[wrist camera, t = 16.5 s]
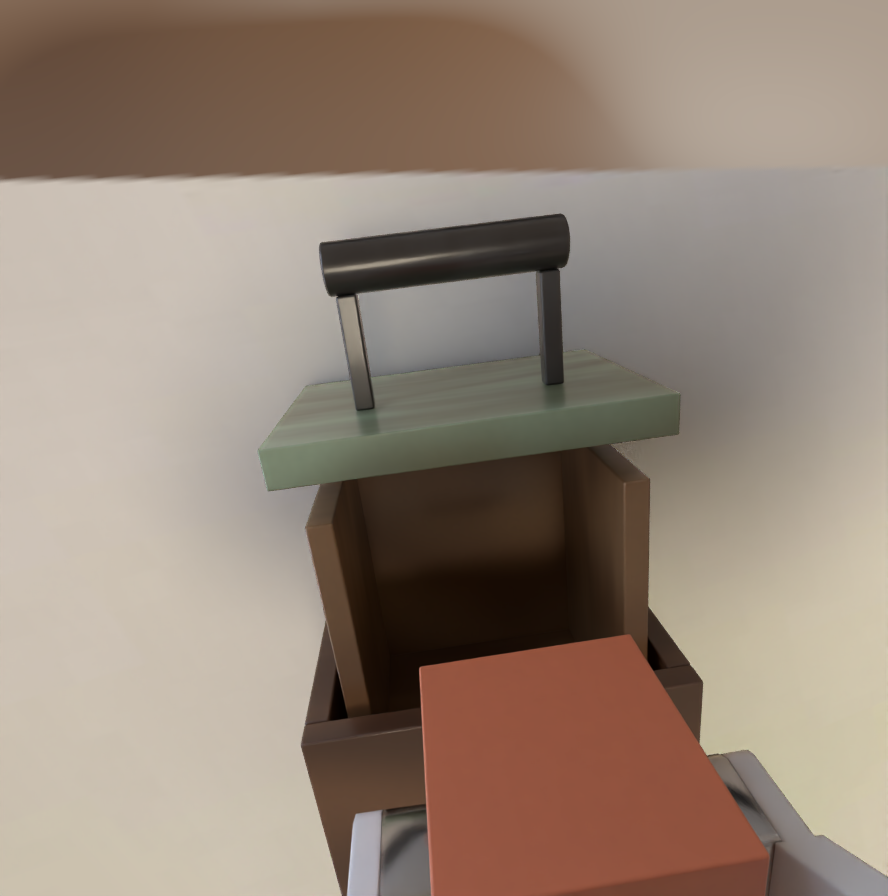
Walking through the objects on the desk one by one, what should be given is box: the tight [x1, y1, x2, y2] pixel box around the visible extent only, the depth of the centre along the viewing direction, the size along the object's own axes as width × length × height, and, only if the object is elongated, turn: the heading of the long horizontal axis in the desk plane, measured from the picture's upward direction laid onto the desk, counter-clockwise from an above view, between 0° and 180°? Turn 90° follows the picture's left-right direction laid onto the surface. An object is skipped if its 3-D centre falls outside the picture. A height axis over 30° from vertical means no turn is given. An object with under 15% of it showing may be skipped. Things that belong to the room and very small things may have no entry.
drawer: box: [258, 214, 680, 718], centre depth 19 cm, size 18×11×8 cm, turn 6°
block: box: [419, 634, 770, 896], centre depth 10 cm, size 4×4×4 cm
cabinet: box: [301, 607, 703, 896], centre depth 23 cm, size 15×13×10 cm
